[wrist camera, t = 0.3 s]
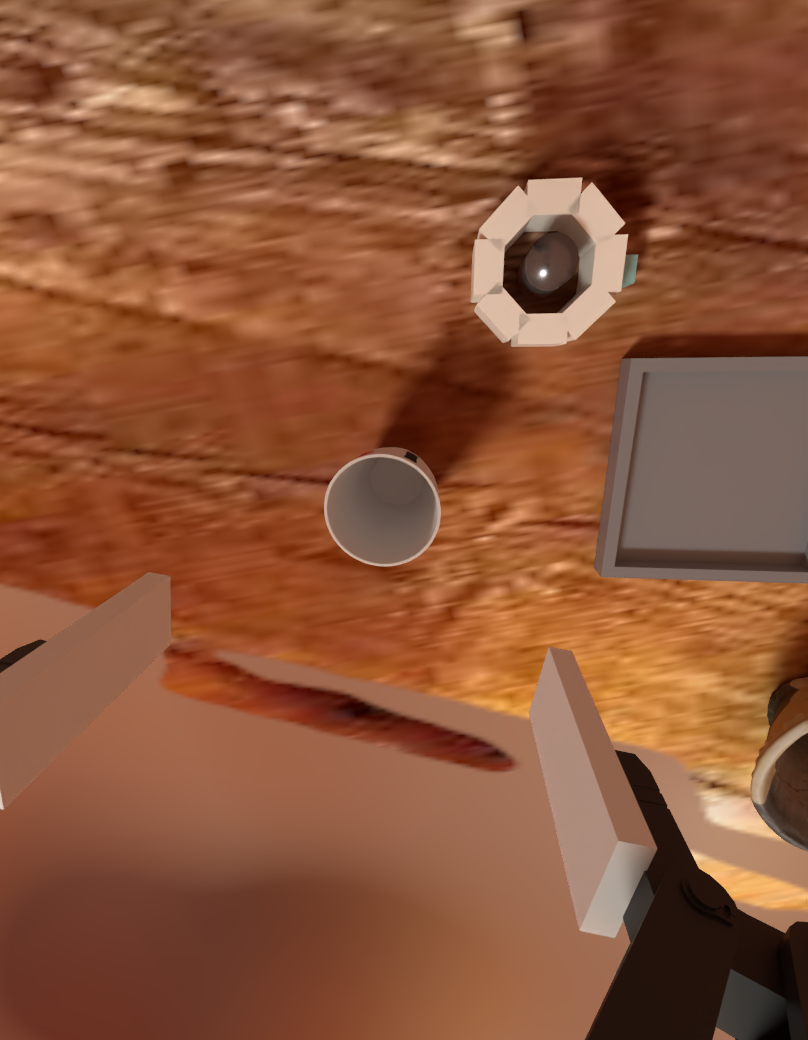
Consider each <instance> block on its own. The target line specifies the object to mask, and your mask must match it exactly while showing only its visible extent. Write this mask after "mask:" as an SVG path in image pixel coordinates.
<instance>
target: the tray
mask: <svg viewBox="0 0 808 1040" xmlns="http://www.w3.org/2000/svg"><path fill="white" fill-rule="evenodd" d="M594 568H595V569H596V571H597V572H598V574H599V575H600V576H601V577H618V578H650V579H682V580H714V581H746V582H778V583H808V356H802V357H709V358H628V359H622V361H621V368H620V376H619V384H618V391H617V399H616V406H615V414H614V421H613V429H612V436H611V444H610V452H609V459H608V467H607V474H606V482H605V489H604V497H603V504H602V512H601V519H600V527H599V535H598V542H597V550H596V557H595V565H594Z"/></svg>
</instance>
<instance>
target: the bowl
mask: <svg viewBox="0 0 808 1040" xmlns="http://www.w3.org/2000/svg"><path fill="white" fill-rule="evenodd" d="M767 716H768V719H769V725H770V728H769V732H768V736H767V740H766V741H765V746H763V747H762V748H761V749H760V750H759V756H758V757H757V759H756V767H755V769H754V770H753V772H752V781H751V800H752V802H753V804H754V807H755V808H756V810H757V812H758V813H759V815H760V816H761V818H762V819H763V820H764V821H765V823H766V824H767V825H768V826H769V827H770V828H771V829H772V830H773V831H774V832H775V833H776V834H777V835H778V836H780V837H781V838H782V839H783V840H785V841H787V842H788V843H790V844H792V845H794V846H796V847H798V848H800V849H803V850H805V851H808V677H805V678H798V679H795V680H792V681H791V682H790V683H786V684H784V685H783V686H782V687H780V688H779V689H778V690H777V691H776V692H775V694H774V695H773V696H772V697H771V698H770V702H769V704H768V714H767Z"/></svg>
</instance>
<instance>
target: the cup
mask: <svg viewBox="0 0 808 1040" xmlns="http://www.w3.org/2000/svg"><path fill="white" fill-rule="evenodd" d="M324 514H325V520H326V524H327V527H328V529H329V531H330V533H331V535H332V537H333V539H334V540H335V541H336V543H337V544H338V545H339V546H340V547H341V548H342V549H343V550H344V551H345V552H346V553H347V554H349V555H350V556H352V557H353V558H355V559H357V560H359V561H361V562H364V563H367V564H370V565H375V566H395V565H400V564H403V563H406V562H408V561H411V560H413V559H414V558H416V557H417V556H419V555H420V554H421V553H423V552H424V551H425V550H426V549H427V548H428V547H429V545H430V544H431V543H432V541H433V539H434V538H435V536H436V534H437V531H438V528H439V524H440V518H441V508H440V500H439V493H438V487H437V483H436V480H435V478H434V476H433V474H432V472H431V470H430V469H429V467H428V466H427V465H426V464H425V462H424V461H423V460H422V459H421V458H420V457H419V456H418V455H416V454H415V453H413V452H411V451H409V450H407V449H403V448H399V447H384V448H377V449H373V450H370V451H368V452H366V453H364V454H362V455H361V456H359V457H357V458H356V459H354V460H353V461H351V462H350V463H348V464H346V465H345V466H344V467H343V468H342V469H340V470H339V471H338V473H337V474H336V475H335V476H334V478H333V479H332V481H331V482H330V484H329V487H328V489H327V492H326V496H325V501H324Z"/></svg>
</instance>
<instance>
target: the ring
mask: <svg viewBox="0 0 808 1040" xmlns="http://www.w3.org/2000/svg"><path fill="white" fill-rule="evenodd" d="M581 186H582V178H560V179H538V180H528V182H527V185H526V187H525V189H524V191H523V190H522V189H521V188H520V187H519V185H518V186H517V187H516V188H515V189H514V191H513V192H512V193H511V194H510V195H509V196H508V197H507V198H506V200H505V201H504V202H503V203H502V204H501V205H500V206H499V207H498V209H497V210H496V211H495V212H494V213H493V214H492V215H491V216H490V218H489V219H488V220H487V221H486V222H485V223H484V224H483V225H482V227H481V228H480V229H479V233H478V238H477V240H475V243H474V248H473V253H472V280H471V303H474V302H479V303H478V304H477V305H476V307H475V310H474V312H475V313H476V314H477V315H478V316H479V318H480V319H481V320H482V321H483V322H484V323H485V324H486V325H487V326H488V328H489V329H490V330H491V331H492V332H493V333H494V334H495V335H496V336H497V337H498V339H499V340H500V341H501V342H502V343H505V342H507V341H509V340H510V339H511V347H538V346H558V345H563V344H566V343H567V342H568V341H572V340H576V339H577V338H578V337H579V336H580V335H581V334H582V333H583V332H584V331H586V330H587V329H588V328H589V327H590V326H591V325H592V324H593V323H594V322H595V321H596V320H597V319H598V318H599V317H600V316H601V315H602V314H603V313H604V312H605V311H606V310H607V309H609V308H610V307H611V306H612V305H613V304H614V303H615V302H616V301H615V300H614V299H613V298H612V295H614V294H616V293H618V292H621V288H625V287H627V286H629V285H631V284H633V283H635V275H636V268H637V260H638V254H637V255H626V248H627V240H628V234H623V235H614V234H615V233H616V232H617V231H618V230H619V229H620V228H621V227H622V226H623V225H624V224H625V222H624V221H623V220H622V218H621V217H620V216H619V215H618V214H617V212H616V211H615V210H614V209H613V207H612V206H611V205H610V204H609V202H608V201H607V200H606V199H605V197H604V196H603V195H602V194H601V192H600V191H599V190H598V189H597V187H596V186H595V185H594V184H593V182H591V183H590V185H589V186H588V187H587V188H586V189H585V190H584V191H583V192H582V193H581ZM545 231H558V232H559V233H563V234H566V235H567V236H569V237H570V238H571V239H572V240H573V241H574V243H575V244H576V246H577V249H578V255H579V257H580V261H579V271H578V281H577V291H576V294H575V295H574V296H573V297H572V298H571V299H570V300H569V301H568V302H567V303H566V304H565V305H564V306H563V307H562V308H561V309H560V310H559V311H558V312H557V313H547V314H526V313H525V312H524V311H523V309H522V308H521V307H520V306H519V305H518V304H517V303H516V302H515V300H514V299H513V298H512V297H511V296H510V295H509V294H508V292H507V291H506V290H505V289H504V288H503V269H504V253H505V252H506V251H507V250H508V249H509V248H510V247H511V246H512V245H513V244H514V242H515V241H516V240H517V239H518V238H519V237H520V236H521V235H522V234H523V233H524V232H545Z"/></svg>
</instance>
